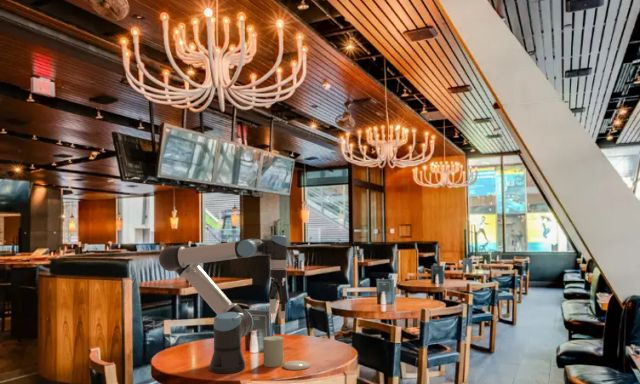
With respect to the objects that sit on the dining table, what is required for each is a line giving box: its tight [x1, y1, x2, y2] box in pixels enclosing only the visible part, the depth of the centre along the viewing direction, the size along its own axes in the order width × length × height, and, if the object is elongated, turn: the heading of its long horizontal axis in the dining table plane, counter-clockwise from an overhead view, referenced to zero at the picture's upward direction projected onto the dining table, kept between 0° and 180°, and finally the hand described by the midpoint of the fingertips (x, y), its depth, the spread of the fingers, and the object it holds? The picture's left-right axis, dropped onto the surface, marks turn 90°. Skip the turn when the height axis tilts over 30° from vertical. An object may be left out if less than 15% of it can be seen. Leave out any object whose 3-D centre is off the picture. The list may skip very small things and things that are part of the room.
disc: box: [282, 360, 311, 371], centre depth 226 cm, size 12×12×1 cm
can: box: [262, 335, 285, 368], centre depth 230 cm, size 9×9×12 cm
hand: (277, 315), depth 234 cm, fingers open, 13 cm apart
